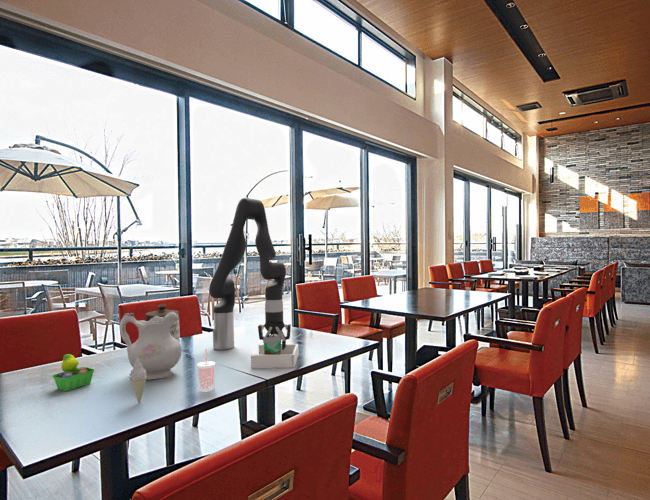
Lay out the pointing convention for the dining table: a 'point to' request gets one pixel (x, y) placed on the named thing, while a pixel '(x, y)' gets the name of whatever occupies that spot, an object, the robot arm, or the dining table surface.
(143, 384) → the ice cream cone
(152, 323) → the ceramic pitcher
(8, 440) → the dining table surface
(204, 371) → the beverage cup
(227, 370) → the dining table surface
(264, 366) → the box
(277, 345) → the food container
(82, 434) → the dining table surface
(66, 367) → the fruit basket
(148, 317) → the lidded jar
